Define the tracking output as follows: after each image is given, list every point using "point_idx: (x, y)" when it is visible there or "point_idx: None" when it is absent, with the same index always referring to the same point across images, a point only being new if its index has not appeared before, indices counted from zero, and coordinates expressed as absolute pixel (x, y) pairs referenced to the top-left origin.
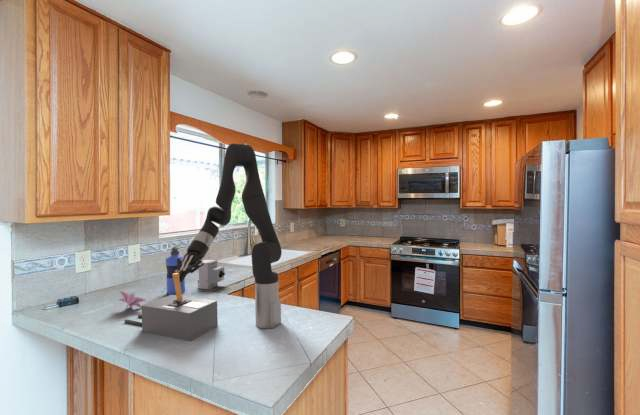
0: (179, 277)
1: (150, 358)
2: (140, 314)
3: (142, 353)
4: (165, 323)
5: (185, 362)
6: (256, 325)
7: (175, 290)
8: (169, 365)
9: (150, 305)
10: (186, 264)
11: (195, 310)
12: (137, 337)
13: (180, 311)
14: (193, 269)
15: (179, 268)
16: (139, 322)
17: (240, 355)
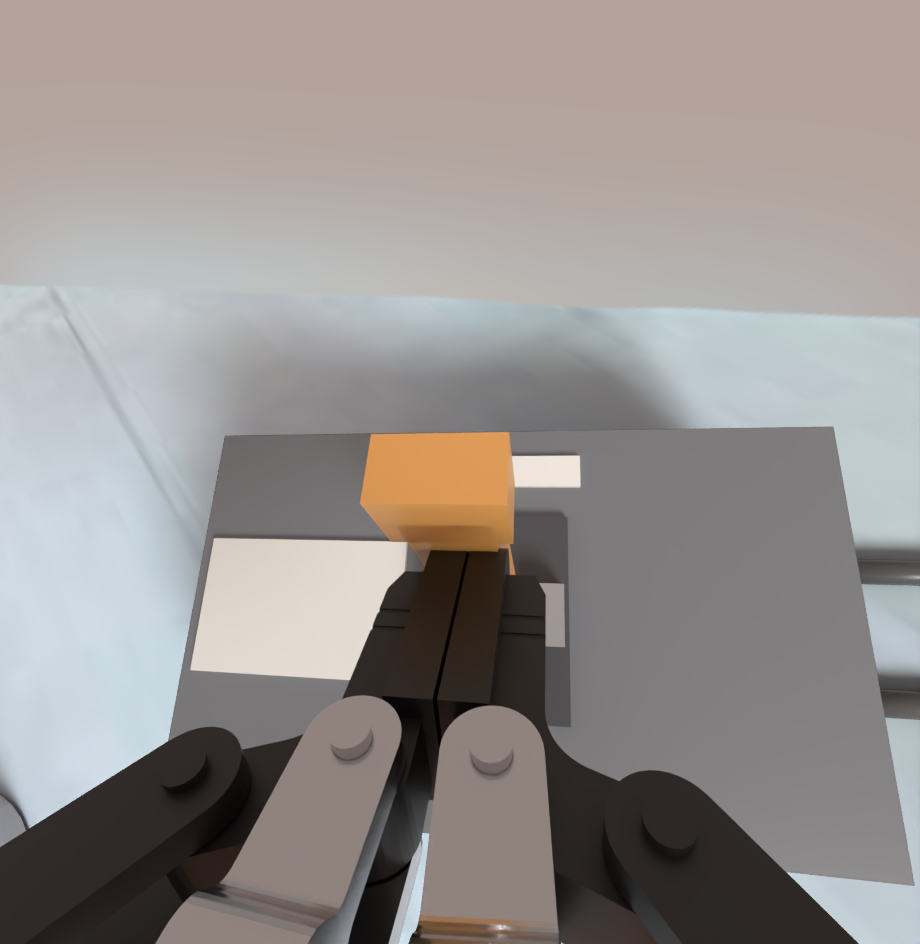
0: (389, 533)
1: (387, 304)
2: None
3: (463, 318)
4: None
5: (215, 338)
6: (12, 813)
7: (511, 557)
8: (264, 299)
9: (739, 458)
10: (256, 931)
11: (217, 497)
12: (672, 424)
13: (324, 438)
14: (154, 938)
15: (612, 808)
16: (892, 565)
17: (14, 463)
